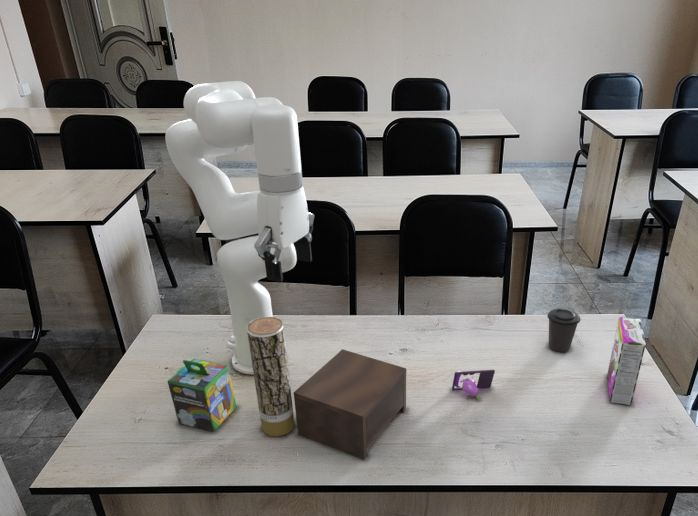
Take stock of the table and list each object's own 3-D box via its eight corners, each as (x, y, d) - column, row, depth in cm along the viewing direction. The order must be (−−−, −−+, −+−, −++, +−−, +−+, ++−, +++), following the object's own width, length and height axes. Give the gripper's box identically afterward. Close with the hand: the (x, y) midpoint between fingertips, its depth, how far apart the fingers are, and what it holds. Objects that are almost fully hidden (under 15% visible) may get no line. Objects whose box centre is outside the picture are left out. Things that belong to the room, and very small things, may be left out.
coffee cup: (550, 335, 160) (555, 302, 154) (580, 345, 156) (586, 311, 150) (537, 349, 154) (542, 314, 149) (567, 359, 150) (573, 324, 145)
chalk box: (237, 407, 133) (228, 351, 125) (213, 433, 126) (201, 375, 118) (202, 399, 136) (190, 343, 128) (176, 424, 128) (162, 366, 121)
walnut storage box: (298, 434, 125) (293, 392, 120) (344, 389, 139) (342, 349, 133) (364, 460, 119) (362, 416, 113) (406, 409, 133) (406, 368, 127)
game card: (493, 366, 135) (454, 369, 134) (498, 386, 132) (458, 388, 131) (489, 383, 140) (451, 386, 140) (493, 402, 137) (454, 405, 136)
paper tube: (288, 440, 124) (275, 336, 111) (257, 435, 125) (240, 332, 112) (299, 419, 130) (288, 318, 117) (269, 415, 131) (255, 315, 118)
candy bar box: (605, 375, 144) (618, 315, 136) (627, 378, 143) (641, 318, 135) (608, 403, 135) (622, 341, 126) (631, 406, 134) (647, 344, 125)
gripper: (290, 166, 114) (299, 250, 122) (231, 192, 100) (245, 284, 109) (325, 170, 111) (330, 256, 120) (268, 198, 97) (280, 293, 106)
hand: (290, 270), depth 114 cm, fingers open, 9 cm apart
